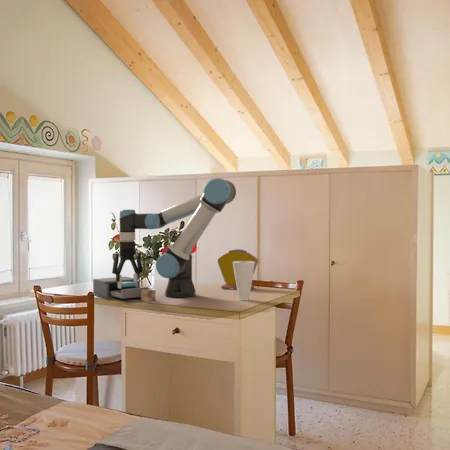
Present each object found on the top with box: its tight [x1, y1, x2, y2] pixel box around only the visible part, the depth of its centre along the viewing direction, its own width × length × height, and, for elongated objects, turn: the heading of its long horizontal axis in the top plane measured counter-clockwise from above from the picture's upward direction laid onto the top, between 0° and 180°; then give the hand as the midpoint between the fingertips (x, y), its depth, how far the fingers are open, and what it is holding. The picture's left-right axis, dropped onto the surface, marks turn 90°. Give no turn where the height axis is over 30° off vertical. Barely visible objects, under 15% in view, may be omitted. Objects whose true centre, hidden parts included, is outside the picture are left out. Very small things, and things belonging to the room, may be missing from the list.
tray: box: [109, 286, 150, 300], centre depth 268 cm, size 14×15×4 cm
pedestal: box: [140, 288, 157, 303], centre depth 259 cm, size 5×5×5 cm
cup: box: [233, 261, 255, 301], centre depth 260 cm, size 11×11×18 cm
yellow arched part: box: [217, 248, 258, 290], centre depth 301 cm, size 22×9×22 cm, turn 76°
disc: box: [122, 282, 136, 287], centre depth 268 cm, size 8×8×2 cm
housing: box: [92, 276, 141, 299], centre depth 279 cm, size 18×16×8 cm
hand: (127, 287), depth 268 cm, fingers closed on disc, 8 cm apart
